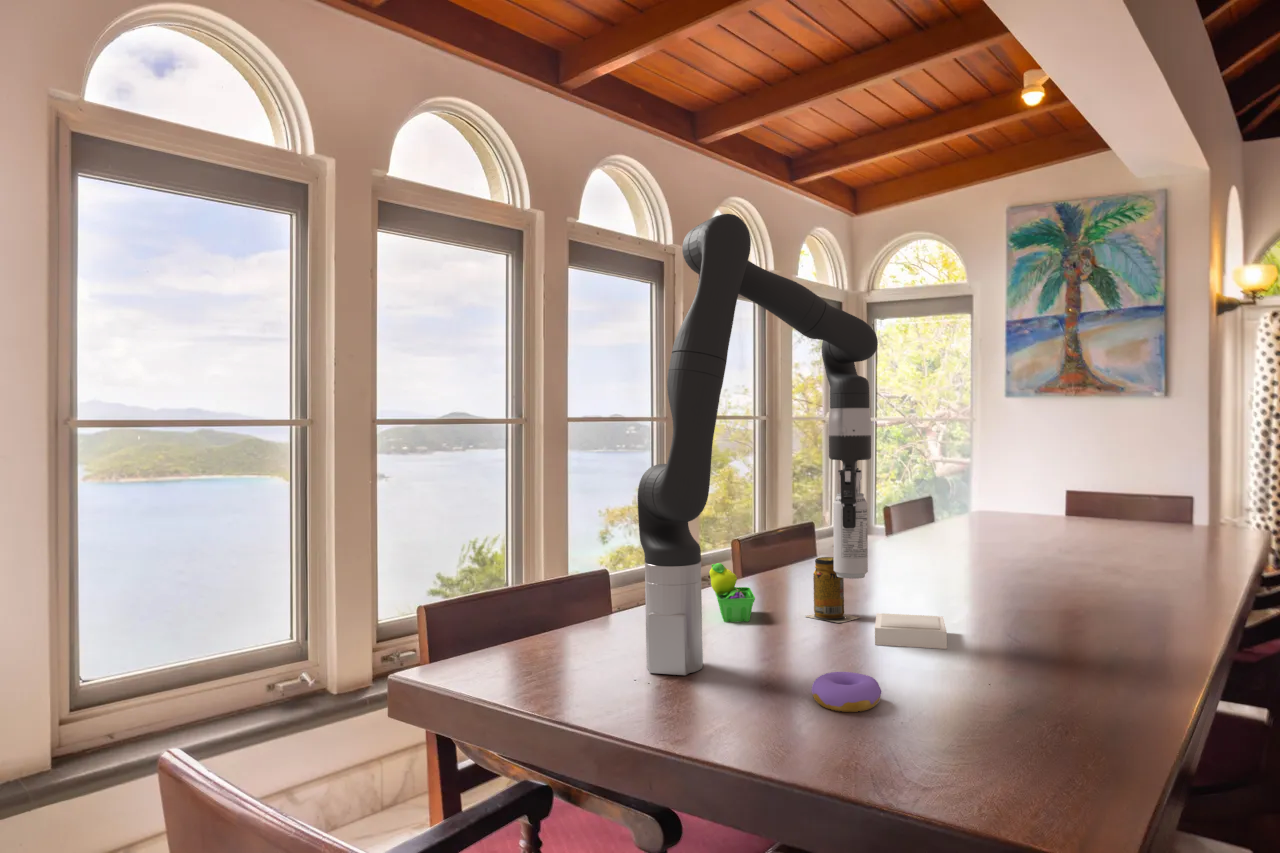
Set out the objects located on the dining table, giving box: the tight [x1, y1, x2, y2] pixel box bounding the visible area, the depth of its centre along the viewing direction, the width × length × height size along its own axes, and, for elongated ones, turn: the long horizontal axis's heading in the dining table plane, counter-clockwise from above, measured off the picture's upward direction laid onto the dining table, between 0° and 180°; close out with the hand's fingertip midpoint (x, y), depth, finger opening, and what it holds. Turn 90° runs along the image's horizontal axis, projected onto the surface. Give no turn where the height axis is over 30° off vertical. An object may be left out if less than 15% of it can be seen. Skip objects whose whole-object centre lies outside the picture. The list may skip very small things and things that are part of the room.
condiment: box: [805, 556, 861, 624], centre depth 170 cm, size 7×8×12 cm
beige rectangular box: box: [874, 612, 948, 650], centre depth 152 cm, size 12×12×3 cm
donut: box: [811, 671, 882, 713], centre depth 117 cm, size 10×9×5 cm
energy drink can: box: [832, 492, 869, 580], centre depth 151 cm, size 6×6×15 cm
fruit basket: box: [708, 562, 756, 623], centre depth 172 cm, size 11×9×11 cm
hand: (850, 525), depth 151 cm, fingers closed on energy drink can, 6 cm apart
